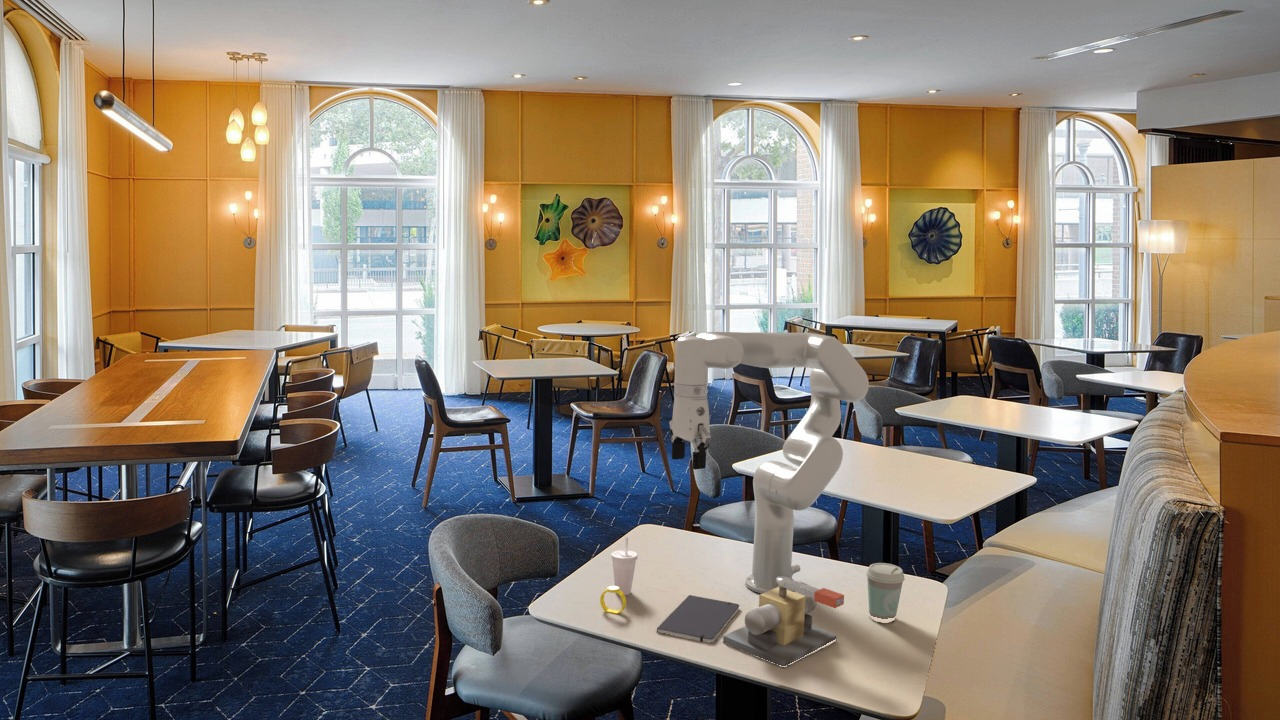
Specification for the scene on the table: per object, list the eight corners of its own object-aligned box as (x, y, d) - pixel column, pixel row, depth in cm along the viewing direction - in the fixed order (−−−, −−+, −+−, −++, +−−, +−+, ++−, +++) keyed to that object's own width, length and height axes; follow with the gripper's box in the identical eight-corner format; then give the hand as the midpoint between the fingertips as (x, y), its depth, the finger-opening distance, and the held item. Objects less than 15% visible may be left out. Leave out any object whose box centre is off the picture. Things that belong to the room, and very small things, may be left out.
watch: (599, 613, 214) (598, 588, 213) (604, 609, 216) (603, 584, 216) (623, 616, 211) (622, 591, 211) (627, 612, 214) (627, 586, 213)
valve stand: (776, 618, 213) (779, 566, 212) (836, 641, 202) (839, 586, 200) (723, 642, 200) (725, 586, 198) (783, 668, 189) (787, 609, 187)
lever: (772, 586, 199) (773, 577, 199) (781, 582, 202) (782, 573, 201) (834, 608, 188) (835, 598, 188) (843, 604, 191) (844, 595, 190)
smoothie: (625, 599, 221) (627, 542, 219) (604, 592, 225) (606, 536, 223) (641, 591, 226) (643, 536, 224) (620, 585, 230) (622, 530, 228)
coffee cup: (880, 628, 210) (884, 577, 208) (855, 614, 217) (858, 564, 216) (909, 622, 214) (913, 572, 212) (883, 608, 221) (887, 560, 220)
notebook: (688, 601, 223) (656, 634, 204) (689, 594, 223) (656, 628, 204) (740, 610, 219) (711, 646, 199) (740, 604, 218) (712, 639, 199)
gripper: (724, 396, 207) (721, 471, 210) (686, 383, 223) (684, 453, 225) (695, 398, 204) (692, 474, 206) (658, 385, 219) (656, 456, 222)
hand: (688, 463), depth 216 cm, fingers open, 9 cm apart
